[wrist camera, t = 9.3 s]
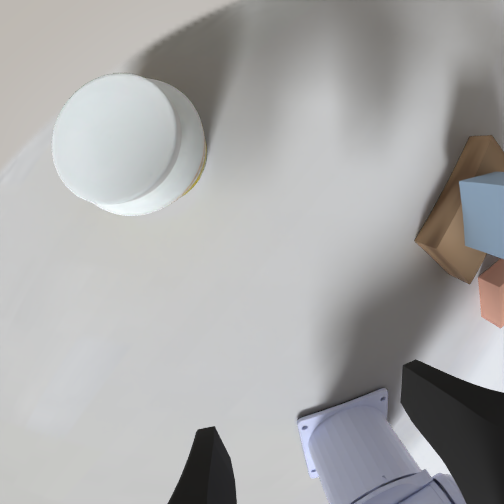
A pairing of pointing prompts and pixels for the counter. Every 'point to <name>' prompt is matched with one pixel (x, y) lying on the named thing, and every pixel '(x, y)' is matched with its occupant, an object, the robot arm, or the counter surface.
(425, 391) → the robot arm
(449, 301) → the counter surface
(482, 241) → the blue brick
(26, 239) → the counter surface
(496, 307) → the brick
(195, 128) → the supplement bottle
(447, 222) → the base brick
